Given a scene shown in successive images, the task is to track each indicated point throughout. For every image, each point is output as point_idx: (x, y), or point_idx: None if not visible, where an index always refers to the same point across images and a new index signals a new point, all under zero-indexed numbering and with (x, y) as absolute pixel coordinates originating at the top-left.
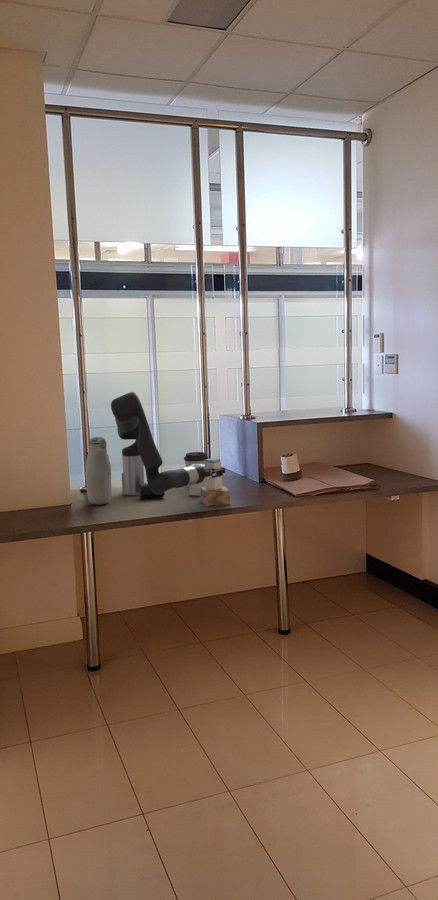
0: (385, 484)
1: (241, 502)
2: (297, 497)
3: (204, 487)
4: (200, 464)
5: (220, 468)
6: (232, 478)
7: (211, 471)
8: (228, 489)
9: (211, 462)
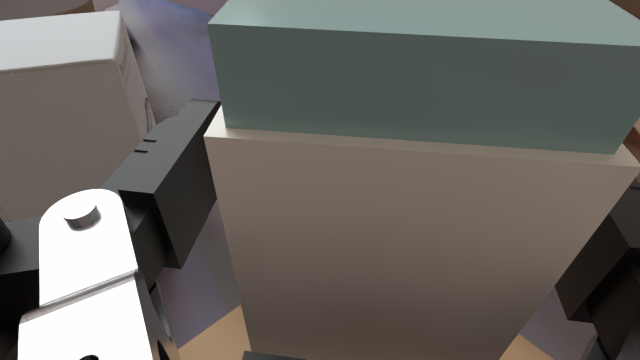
0: (633, 9)
1: (530, 327)
2: (636, 143)
3: (217, 346)
4: (52, 22)
5: (635, 209)
6: (197, 33)
7: (437, 317)
8: (520, 336)
9: (508, 122)
